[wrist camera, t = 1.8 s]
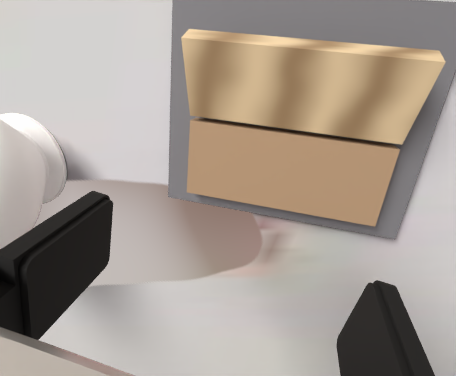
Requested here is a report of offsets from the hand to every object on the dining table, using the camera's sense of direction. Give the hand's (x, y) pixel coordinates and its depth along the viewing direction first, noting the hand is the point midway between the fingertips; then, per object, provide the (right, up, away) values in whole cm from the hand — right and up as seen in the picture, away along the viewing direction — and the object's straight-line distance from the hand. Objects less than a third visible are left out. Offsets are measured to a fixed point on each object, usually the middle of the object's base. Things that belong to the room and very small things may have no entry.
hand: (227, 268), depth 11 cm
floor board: (+7, +10, +21) cm, 24 cm away
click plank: (+6, +12, +17) cm, 22 cm away
